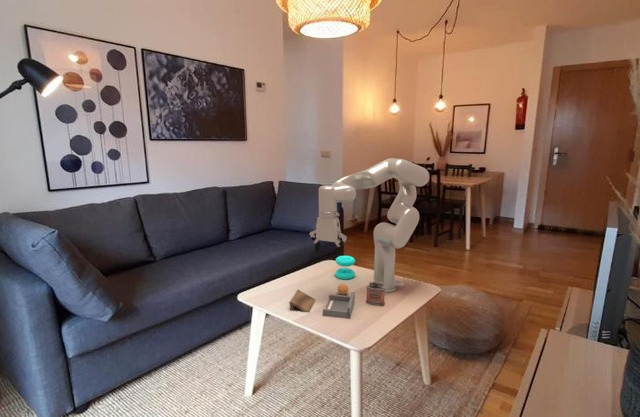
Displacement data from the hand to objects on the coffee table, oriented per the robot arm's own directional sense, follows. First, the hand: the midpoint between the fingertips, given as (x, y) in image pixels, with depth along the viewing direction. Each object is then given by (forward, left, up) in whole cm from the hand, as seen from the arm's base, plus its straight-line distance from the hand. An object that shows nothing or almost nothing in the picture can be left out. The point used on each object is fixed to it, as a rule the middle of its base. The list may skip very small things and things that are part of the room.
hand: (327, 253), depth 152 cm
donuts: (-4, -28, -22) cm, 36 cm away
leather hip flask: (-21, 0, -21) cm, 30 cm away
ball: (-6, -6, -21) cm, 23 cm away
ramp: (+9, +8, -21) cm, 24 cm away
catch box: (-6, +8, -21) cm, 24 cm away
